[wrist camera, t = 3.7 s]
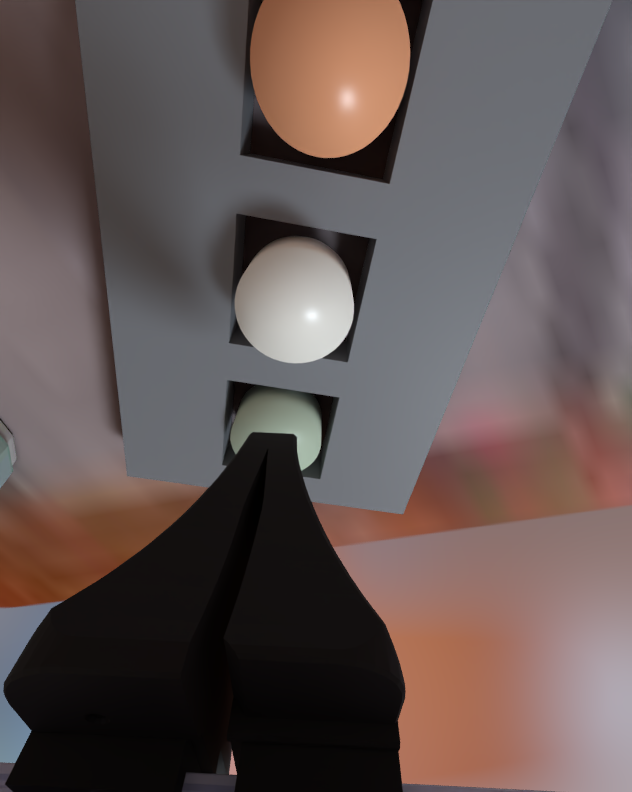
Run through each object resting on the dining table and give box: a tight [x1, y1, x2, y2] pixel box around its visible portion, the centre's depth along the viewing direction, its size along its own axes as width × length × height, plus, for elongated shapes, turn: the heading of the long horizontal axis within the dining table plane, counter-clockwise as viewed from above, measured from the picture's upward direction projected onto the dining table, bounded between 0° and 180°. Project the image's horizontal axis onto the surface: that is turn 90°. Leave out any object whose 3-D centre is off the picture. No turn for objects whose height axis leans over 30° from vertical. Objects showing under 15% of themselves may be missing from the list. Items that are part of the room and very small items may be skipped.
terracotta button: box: [250, 0, 410, 158], centre depth 11 cm, size 4×4×2 cm
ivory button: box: [235, 236, 354, 363], centre depth 14 cm, size 4×4×2 cm
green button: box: [230, 385, 322, 470], centre depth 19 cm, size 4×4×2 cm
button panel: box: [75, 0, 613, 514], centre depth 16 cm, size 14×21×2 cm, turn 170°
